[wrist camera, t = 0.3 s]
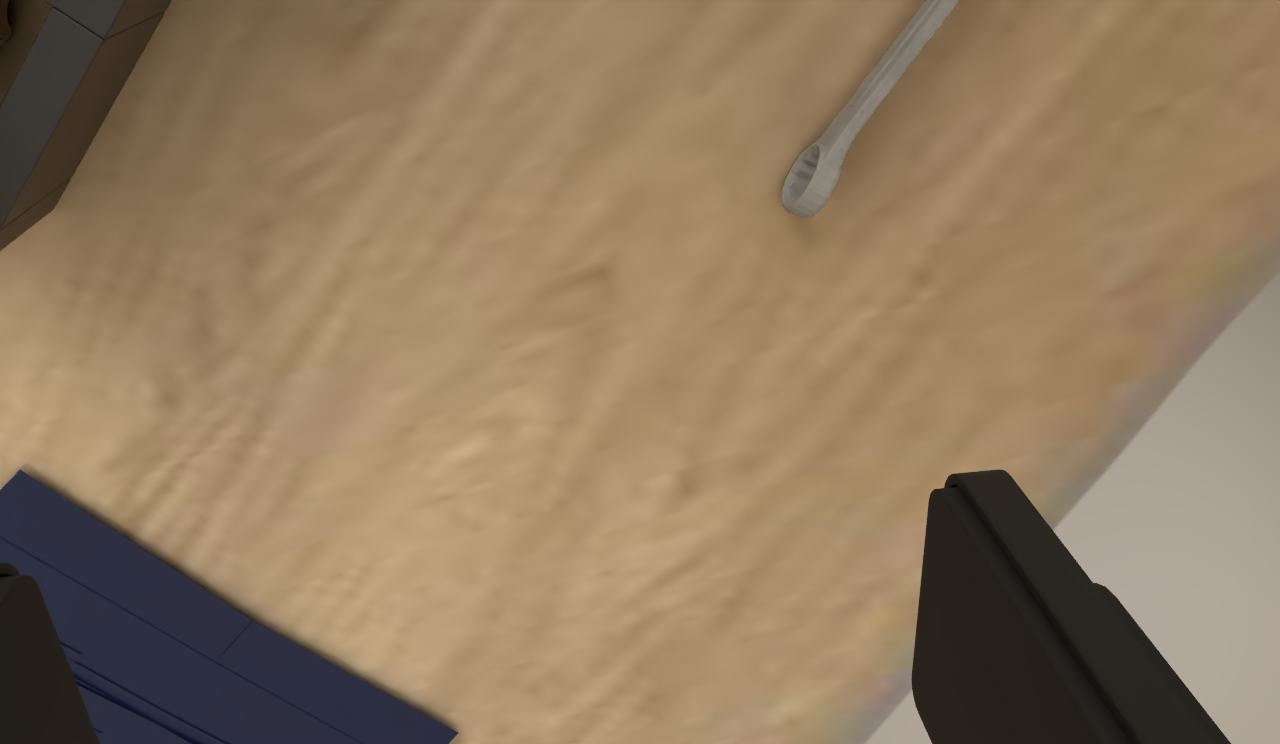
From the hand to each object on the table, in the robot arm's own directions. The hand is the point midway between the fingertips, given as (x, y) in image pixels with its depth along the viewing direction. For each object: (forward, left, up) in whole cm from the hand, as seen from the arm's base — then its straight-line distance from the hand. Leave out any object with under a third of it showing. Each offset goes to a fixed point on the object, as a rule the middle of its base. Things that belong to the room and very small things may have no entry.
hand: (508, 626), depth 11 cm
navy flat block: (+42, +3, -31) cm, 52 cm away
